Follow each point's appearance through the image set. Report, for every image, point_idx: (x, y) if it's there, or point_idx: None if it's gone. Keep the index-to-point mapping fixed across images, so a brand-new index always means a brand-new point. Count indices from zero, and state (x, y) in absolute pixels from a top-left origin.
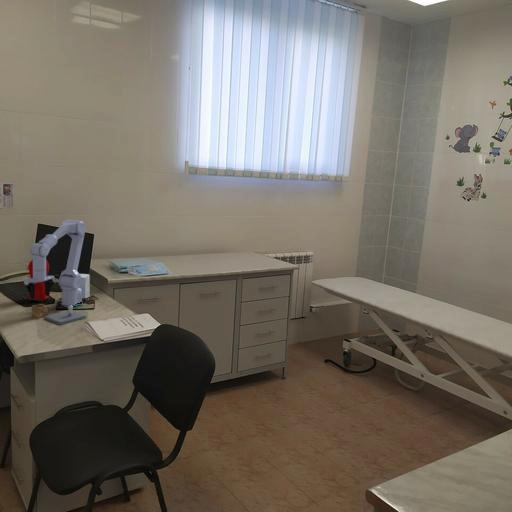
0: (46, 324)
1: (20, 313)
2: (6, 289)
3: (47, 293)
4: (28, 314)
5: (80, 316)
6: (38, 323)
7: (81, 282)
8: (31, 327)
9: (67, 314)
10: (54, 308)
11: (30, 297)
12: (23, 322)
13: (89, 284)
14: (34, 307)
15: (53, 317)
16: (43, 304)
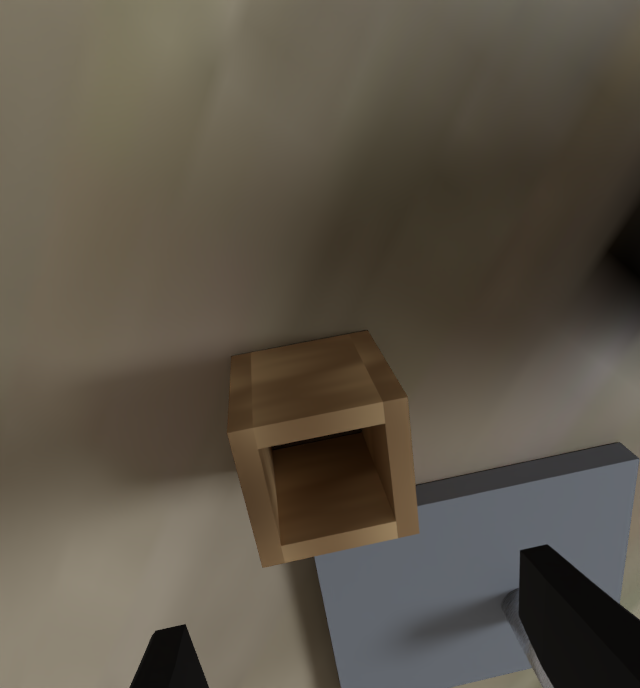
0: (247, 645)
1: (129, 156)
2: None
3: (549, 660)
4: (215, 268)
5: None
6: (194, 600)
7: None
8: (96, 665)
9: None
10: (615, 193)
11: (147, 655)
12: (63, 521)
13: None
14: (242, 481)
15: (365, 593)
16: (409, 445)
